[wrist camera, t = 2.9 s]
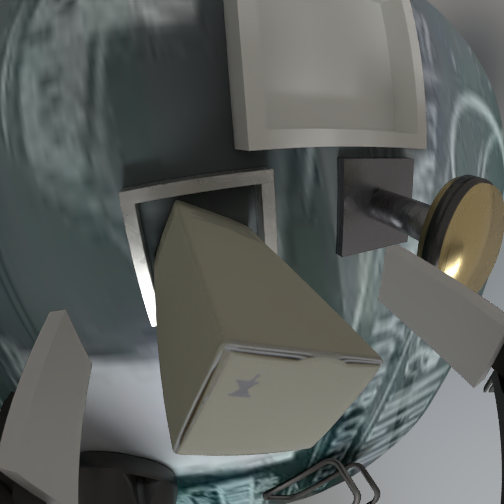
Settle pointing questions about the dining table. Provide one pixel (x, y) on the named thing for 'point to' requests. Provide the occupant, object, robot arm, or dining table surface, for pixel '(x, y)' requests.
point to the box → (247, 343)
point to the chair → (341, 471)
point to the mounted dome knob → (420, 217)
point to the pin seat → (188, 185)
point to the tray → (324, 74)
